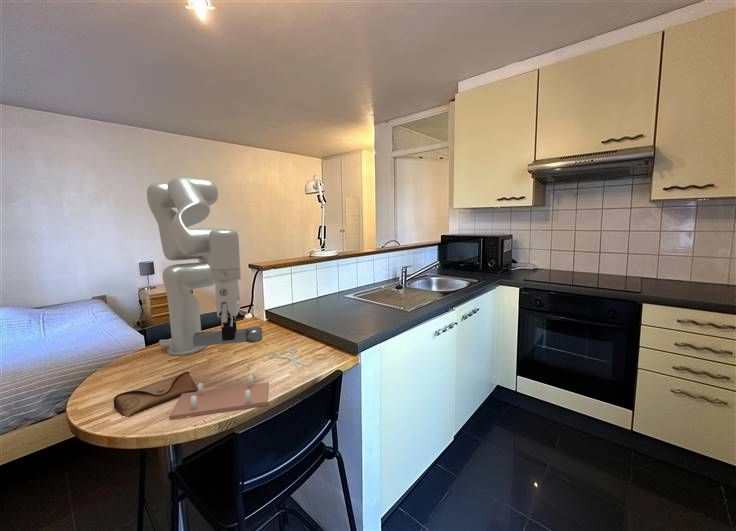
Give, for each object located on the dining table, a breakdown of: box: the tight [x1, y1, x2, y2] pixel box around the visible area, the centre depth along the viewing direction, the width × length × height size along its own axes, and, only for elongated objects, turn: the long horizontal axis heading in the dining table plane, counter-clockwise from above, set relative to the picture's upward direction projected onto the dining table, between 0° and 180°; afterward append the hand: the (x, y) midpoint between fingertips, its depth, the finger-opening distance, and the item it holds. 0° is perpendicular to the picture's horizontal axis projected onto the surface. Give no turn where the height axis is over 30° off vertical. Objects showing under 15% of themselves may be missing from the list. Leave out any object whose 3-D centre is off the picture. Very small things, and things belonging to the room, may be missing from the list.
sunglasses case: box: [113, 371, 198, 418], centre depth 83 cm, size 18×7×7 cm, turn 141°
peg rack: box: [168, 374, 269, 420], centre depth 81 cm, size 22×10×4 cm, turn 105°
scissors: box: [264, 347, 311, 372], centre depth 105 cm, size 11×1×20 cm
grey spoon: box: [193, 326, 263, 346], centre depth 88 cm, size 18×5×3 cm, turn 105°
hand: (229, 337), depth 89 cm, fingers closed on grey spoon, 2 cm apart
